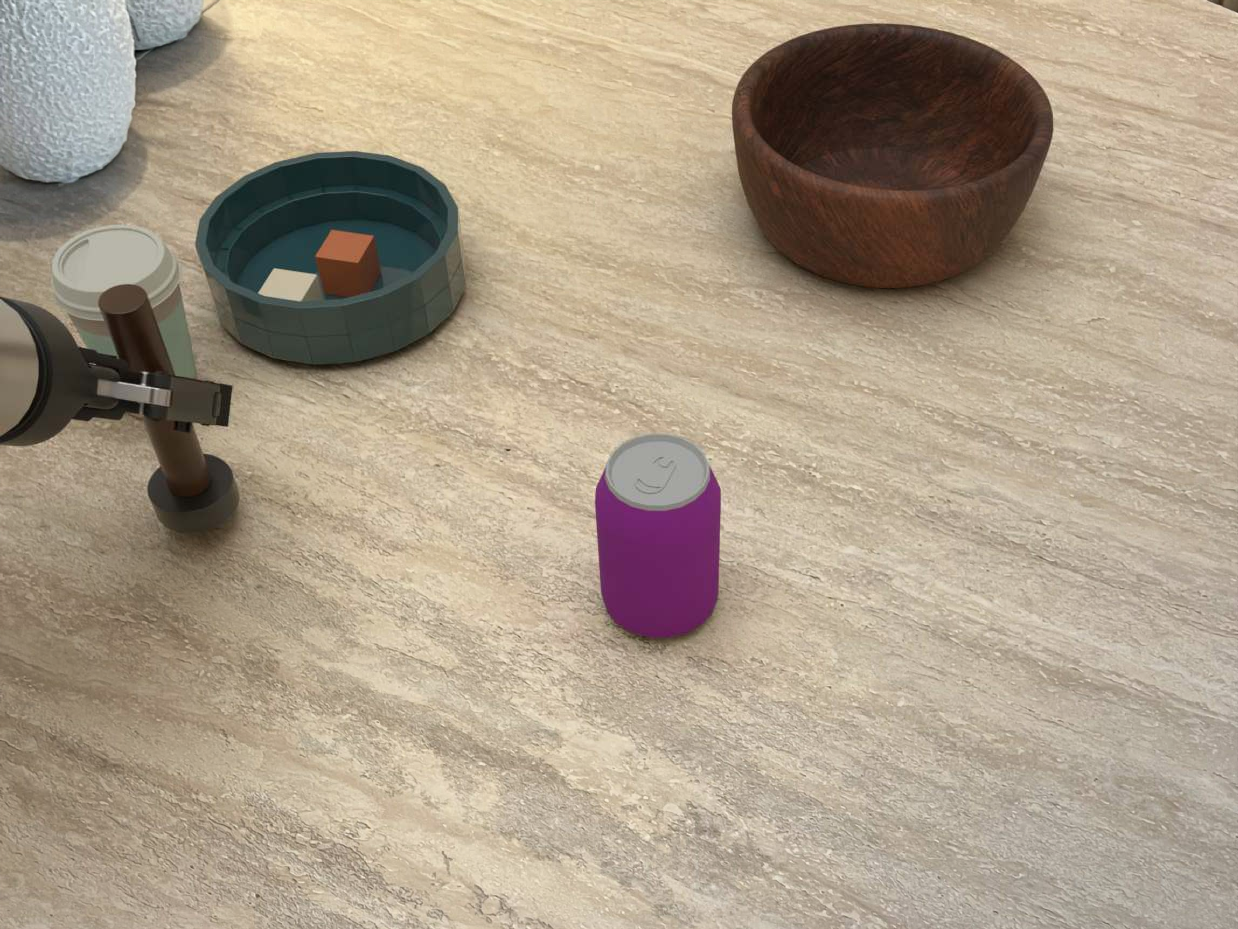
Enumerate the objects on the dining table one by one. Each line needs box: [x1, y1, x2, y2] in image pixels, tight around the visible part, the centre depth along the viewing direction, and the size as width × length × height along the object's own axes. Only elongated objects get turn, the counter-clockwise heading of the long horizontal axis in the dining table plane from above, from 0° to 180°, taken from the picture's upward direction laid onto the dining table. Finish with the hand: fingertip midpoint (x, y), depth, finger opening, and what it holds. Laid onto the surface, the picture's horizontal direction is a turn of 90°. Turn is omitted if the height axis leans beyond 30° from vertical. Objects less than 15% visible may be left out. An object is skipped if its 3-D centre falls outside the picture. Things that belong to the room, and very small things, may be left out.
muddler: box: [98, 284, 241, 534], centre depth 92 cm, size 6×6×17 cm
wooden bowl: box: [731, 22, 1054, 289], centre depth 118 cm, size 25×25×10 cm
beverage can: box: [594, 432, 722, 639], centre depth 91 cm, size 8×8×12 cm
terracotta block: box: [315, 230, 381, 297], centre depth 113 cm, size 4×4×4 cm
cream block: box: [258, 268, 323, 301], centre depth 111 cm, size 4×4×4 cm
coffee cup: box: [50, 224, 199, 419], centre depth 103 cm, size 9×8×12 cm
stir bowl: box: [194, 150, 467, 365], centre depth 113 cm, size 20×20×6 cm
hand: (199, 401), depth 97 cm, fingers closed on muddler, 3 cm apart
